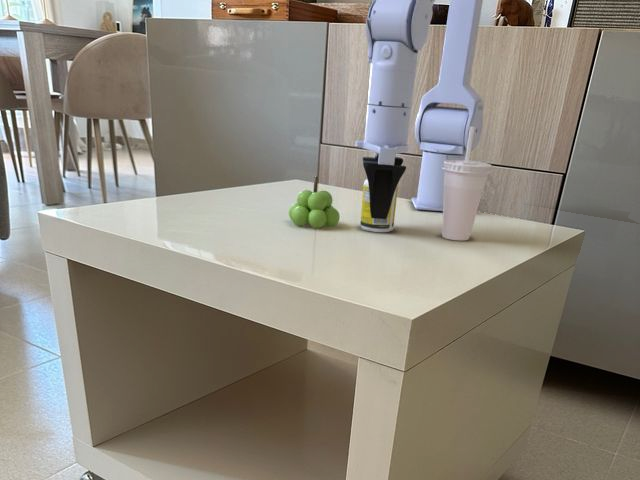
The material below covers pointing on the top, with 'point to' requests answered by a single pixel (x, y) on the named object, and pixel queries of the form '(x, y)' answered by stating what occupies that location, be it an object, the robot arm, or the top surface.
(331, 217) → the grapes
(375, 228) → the supplement bottle
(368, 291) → the top surface
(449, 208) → the smoothie
